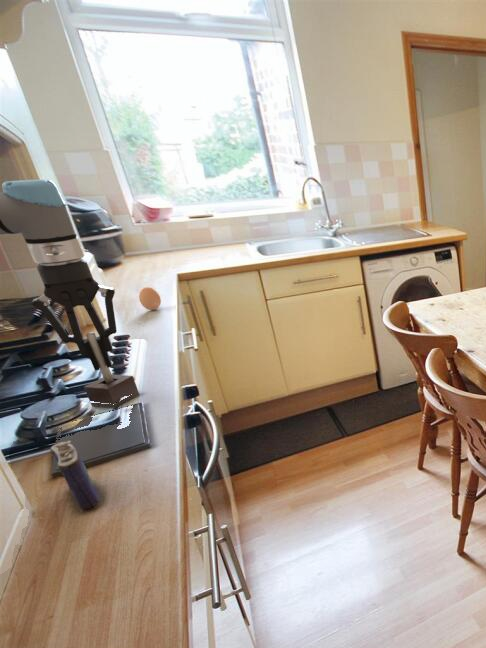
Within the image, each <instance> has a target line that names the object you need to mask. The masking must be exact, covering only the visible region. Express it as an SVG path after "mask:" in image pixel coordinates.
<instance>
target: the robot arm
mask: <svg viewBox="0 0 486 648" xmlns="http://www.w3.org/2000/svg"><path fill="white" fill-rule="evenodd" d="M1 189H2V191H0V235H14V234H21V235H22V237H23V239H24V242H25V244H26V246H27V249H28V251H29V253H30V256H31V258H32V260H33V262H34V263H35V264H38V265H37V266H36V269H37V270H36V271H37V272H38V274H39V276H40V279H41V281H42V284H43V286H44V289H43V294H42V295H40V296H39V297H35V298H33V299H32V302H31V305H32V306H33V307H34V308H36V309H37V310H38V311H40V312H41V313H42V314H43V316H44V317H45V318H46V320H47V321H48V322H49V324H50V325H51V327H52V328H53V330H54V331H55V332H56V334H57V336H58V337H59V338H60V340H61V341H62V342H63V343H65V344H69V343H71V344H75V345H76V346H77V348H78V350H79V353H80V355H81V356H82V358H84V357H85V358H86V357H88V358H89V360H90V362H91V364H92V367H93V370H94V371H99V370H100V367H99V365H98V363H97V360H96V358H95V355H94V353H93V351H92V348H91V346H90V343H89V341H88V339H87V338H84V334H83V331H82V328H81V326H80V322H79V318H78V316H77V312H76V307H78V306H81V307H84V309H85V312H86V313H87V314H88V316H89V318H90V320H91V323H92V324H93V326H94V328H95V330H96V332H97V334H98V336H96V337H97V342H98V345H99V347H100V350H101V352H102V355H103V357H104V360H105V362H106V365H107V367H108V368H109V369H110V368H113V363H112V360H111V357H110V355H109V352H112V351H113V345H112V342H111V340H110V336H111V335H114V334H116V333H117V331H118V330H117V324H116V323H117V322H116V316H115V310H114V309H115V308H114V303H113V302H114V301H113V299H114V296H115V293H116V290H115V287H113V286H108V287H107V286H104V285H100V283H98V282H97V281H96V279H94V277H93V275H92V271H91V269H90V267H89V264H88V262H87V260H85V259H84V257H85V254H84V250H83V248H82V245H81V243H80V240H79V238H78V236H77V233H76V231H75V228H74V225H73V222H72V220H71V217H70V214H69V212H68V211H69V210H68V209H67V204H66V202H65V201H64V199H63V197H62V194H61V192H60V190H59V188H58V186H57V184H56V183H55V182H54V181H52V180H48V179H24V180H23V179H22V180H21V179H19V180H8V181H7V180H6V181H4V182H3V183H2V184H1ZM98 292H100V296H101V297H102V298H104V305H105V311H106V318H107V325H108V327H107V328H106V327H105V326H104V323H103V321H102V319H101V318H100V315H99V314H98V311H97V309H96V308H95V305H94V303H93V302H94V299H95V298H96V296H97V294H98ZM49 299H50V300H51V301H53V302H55V303H57V304H58V305H60V306H62V307H63V308H64V310H65V311H64V312H65V313H66V316H67V319H68V322H69V326H70V330H71V332H72V334H71V333H70V332H69V331H68V329H67V328H66V327H65V325H64V324H63V322H62V321H61V320H60V318H59V317H58V315H57V313H56V312H55V311H54V309H53V307H51V301H50V300H49ZM100 371H101V370H100Z"/></svg>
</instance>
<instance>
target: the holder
mask: <svg viewBox="0 0 486 648" xmlns="http://www.w3.org/2000/svg"><path fill="white" fill-rule="evenodd" d="M111 374H112V376H113V379H114V382H112V383H110V384H106V382H105V380H104V377H103V376H102V377H101V378H99V379H97V380H94V381H93V382H90V383H89V384H86V385H84V386H83V389H84V391H85V393H86V396H87V398H88V401H89V402H90V401H94V402H100V403H90V405H91V407H95V408H108V409H118V408H120V407H121V406H122V405H124V404H126V403H128V402H129V401H131V400H133V399H135V398H137V397H138V396H140V391H139V389H138V386H137V384H136V381H135V379H134V376H133V375H125V374H115V373H114V374H113V373H111ZM131 394H132V395H131ZM129 395H130V396H129ZM124 396H129V397H127V398H125V399H123V400H121V401H120V402H118V403H116V402H117V401H118V400H119V399H120V398H121V397H124ZM101 403H109V404H101ZM110 403H111V404H110ZM114 403H116V404H114ZM113 404H114V405H113Z"/></svg>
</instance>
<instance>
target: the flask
mask: <svg viewBox="0 0 486 648" xmlns="http://www.w3.org/2000/svg"><path fill="white" fill-rule="evenodd" d="M70 443H71V441H69V440H68V442H60V443H58V444H56V443H55V444H53V445H52V446H51V447H50V453H51V454H52V456H53V458H55V460H56V461H57V463H58V467H59V469H60V471H61V472H62V474H63V475H62V477H63V478H64V480H65V482H66V484H67V486H68V489H69V490H70V492H71V495H72V496H73V498H74V500H75V502H76V504H77V506H78V508H79V510H80V512H89V511H92V510H94V509H96V508H98V506H99V505H100V503H101V496H100V493H99V492H98V490H97V488H96V486H95V485H94V483H93V480H92V478H91V476H90V473H89V471H88V470H87V468H86V467H85V465H84V463H83V461H82V459H81V457H80V454H79V452H78V450H77V449H76V448H75V447H74V446H73V445H72V444H70Z"/></svg>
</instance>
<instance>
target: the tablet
mask: <svg viewBox="0 0 486 648" xmlns="http://www.w3.org/2000/svg"><path fill="white" fill-rule="evenodd" d="M133 404H134V405H133ZM133 404H130V405H131V406H132V405H133V408H132V409H131V410H132V411H131V412H132V413H130V414H129V415H130V416H129V417H130V419H129V421H131V422H130V424H129V426H127V427H125V428H122V429H117V427H118V426H119V425H121V424H120V423H122V422H118V424H114V425H107V426H105V427H103V428H101V429H97V430H91V431H90V430H86V431H85V430H84V431H80V432H77V433H75V434H74V435H72V434H71V436H70V435H69V434H68V436H67V435H66V436H65V437H62V438H57V437H59V436H60V437H61V435H60V434H61V431H62V427H61V428H59V429H60V430H61V431H60V430H59V429H58V428H57V430H56V431H57V432H58V433H56V437H55V444H58V443H60V442H68V440H69V441H71V443H70V444H72V445H73V446H74V447H75V448H76V449H77V450H78V452H79V454H80V457H81V459H82V461H83V463H84V465H85V467H86V469H87V468H90V467H94V466H98V465H100V464H103V463H106V462H109V461H110V462H111V461H112V460H113V461H114V460H116V459H119V458H122V457H126V456H128V455H131V454H135V453H138V452H141V451H144V450H147V449H150V448H151V447H152V446H151V440H150V433H149V427H148V422H147V416H146V411H145V410H146V409H145V405H144V402H143V401H140V402H137V403H133ZM126 406H127V407H128V406H129V405H126ZM118 408H119V409H120V408H121V407H118ZM111 410H112V411H114V409H111ZM111 410H108V411H109V412H110V411H111ZM104 412H105V411H104ZM104 412H100V413H96V414H93V415H94V416H95V415H97V414H101V413H104ZM91 416H92V415H89V417H88V416H85V417H86V418H85V417H81V418H82V419H83V418H84V419H83V420H82V421H80V422H79V423H78V424H77V425H76V426H75V427H74V428H75V429H77V428H79V427H80V428H81V427H84V426H88V425H89V424H90V422H91V421H92V418H93V417H91ZM74 420H75V421H77V419H74ZM71 421H72V422H73V420H71ZM58 430H59V431H58ZM57 435H59V436H57ZM56 439H57V440H56ZM58 439H60V440H58ZM50 474H51V477H52V478H53V479H56V478H59V477H63V474H62V472H61V471H60V469H59V467H58V463H57V461H56V460H55V458H54V457H53V458H52V466H51V472H50Z"/></svg>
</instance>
